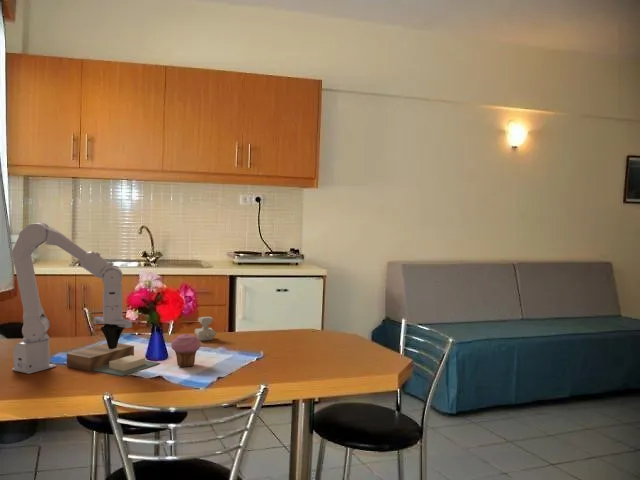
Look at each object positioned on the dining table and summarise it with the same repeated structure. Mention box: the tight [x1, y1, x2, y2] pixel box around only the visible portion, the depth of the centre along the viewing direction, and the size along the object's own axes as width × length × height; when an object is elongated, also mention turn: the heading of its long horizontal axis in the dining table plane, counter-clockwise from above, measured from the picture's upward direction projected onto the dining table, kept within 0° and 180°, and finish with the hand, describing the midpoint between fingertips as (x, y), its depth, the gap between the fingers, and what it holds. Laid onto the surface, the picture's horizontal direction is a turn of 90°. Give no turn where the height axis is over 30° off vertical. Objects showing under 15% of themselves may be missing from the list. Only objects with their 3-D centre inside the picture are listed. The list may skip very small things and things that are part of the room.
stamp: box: [194, 316, 217, 342], centre depth 222 cm, size 9×7×8 cm
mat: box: [92, 359, 161, 377], centre depth 184 cm, size 16×12×1 cm
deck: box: [66, 342, 135, 372], centre depth 189 cm, size 18×10×4 cm, turn 153°
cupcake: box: [171, 333, 201, 368], centre depth 187 cm, size 9×9×10 cm
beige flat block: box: [109, 355, 146, 371], centre depth 184 cm, size 9×6×2 cm, turn 153°
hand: (112, 348), depth 187 cm, fingers closed
